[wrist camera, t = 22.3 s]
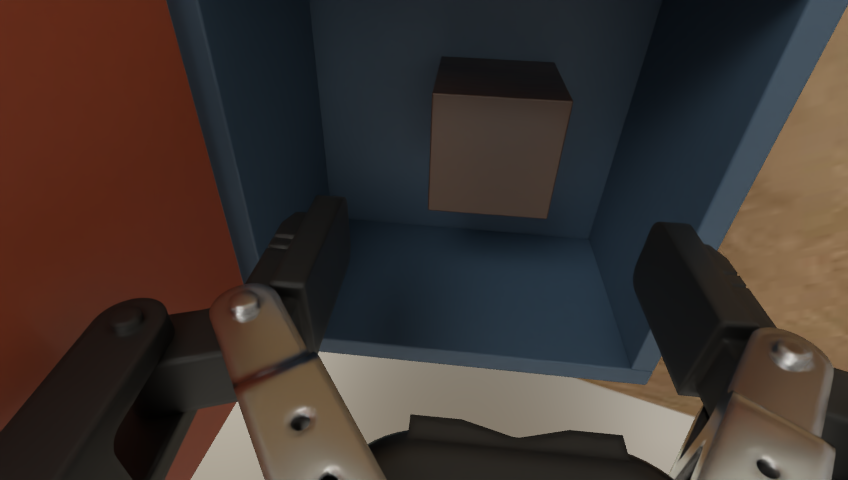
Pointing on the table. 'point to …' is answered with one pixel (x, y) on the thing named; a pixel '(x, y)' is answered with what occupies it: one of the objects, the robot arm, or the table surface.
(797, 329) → the table surface
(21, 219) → the lid
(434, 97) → the walnut block
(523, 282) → the sorter box
